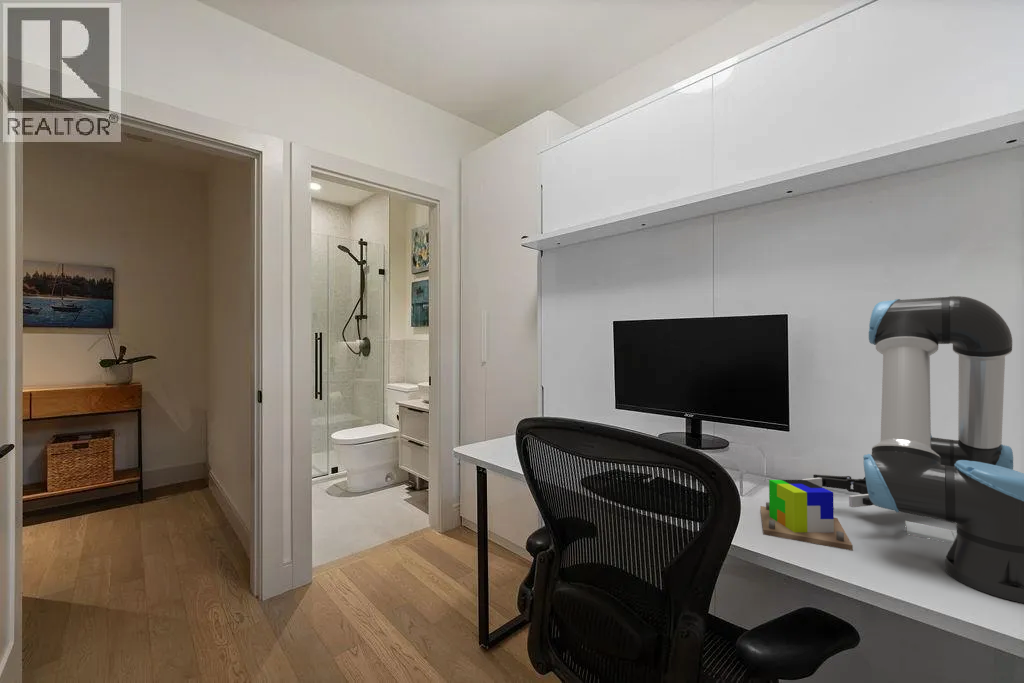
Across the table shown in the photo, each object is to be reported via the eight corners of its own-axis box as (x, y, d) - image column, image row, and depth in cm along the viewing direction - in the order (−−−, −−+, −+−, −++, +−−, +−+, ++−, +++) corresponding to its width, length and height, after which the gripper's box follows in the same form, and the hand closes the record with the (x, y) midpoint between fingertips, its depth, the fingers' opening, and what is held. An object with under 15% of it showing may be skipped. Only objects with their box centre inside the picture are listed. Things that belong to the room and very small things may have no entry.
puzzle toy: (833, 532, 105) (833, 492, 105) (794, 532, 105) (793, 492, 105) (805, 516, 115) (805, 479, 115) (769, 516, 115) (769, 479, 115)
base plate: (837, 522, 114) (837, 511, 114) (852, 550, 98) (852, 537, 98) (760, 510, 123) (760, 499, 123) (763, 534, 107) (763, 522, 107)
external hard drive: (904, 526, 113) (972, 539, 105) (906, 536, 107) (979, 552, 99) (904, 519, 113) (972, 533, 105) (906, 530, 107) (979, 545, 99)
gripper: (941, 517, 105) (874, 525, 100) (842, 485, 129) (785, 490, 125) (940, 487, 105) (874, 494, 100) (842, 461, 129) (785, 465, 125)
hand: (824, 492), depth 112 cm, fingers open, 13 cm apart
